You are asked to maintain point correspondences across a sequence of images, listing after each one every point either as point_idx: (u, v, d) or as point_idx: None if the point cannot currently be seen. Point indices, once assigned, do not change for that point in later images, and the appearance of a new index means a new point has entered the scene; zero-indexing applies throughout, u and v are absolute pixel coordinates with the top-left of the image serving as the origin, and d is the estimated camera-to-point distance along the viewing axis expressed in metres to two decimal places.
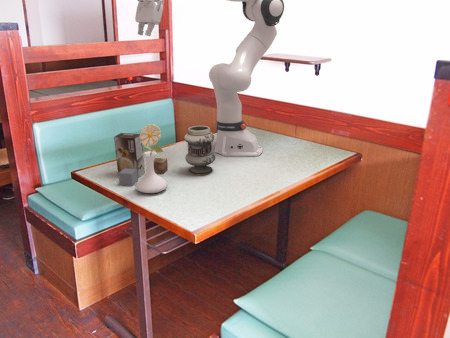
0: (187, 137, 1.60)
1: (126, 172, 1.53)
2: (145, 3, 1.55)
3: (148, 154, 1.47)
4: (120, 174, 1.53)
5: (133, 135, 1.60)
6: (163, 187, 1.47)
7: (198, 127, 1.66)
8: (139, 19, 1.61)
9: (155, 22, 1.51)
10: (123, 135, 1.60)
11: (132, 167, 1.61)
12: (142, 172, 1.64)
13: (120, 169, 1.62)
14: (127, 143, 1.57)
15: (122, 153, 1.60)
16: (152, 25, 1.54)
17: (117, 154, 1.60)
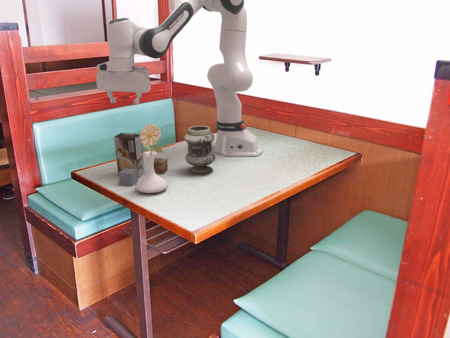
0: (187, 137, 1.60)
1: (126, 172, 1.53)
2: (123, 74, 1.49)
3: (148, 154, 1.47)
4: (120, 174, 1.53)
5: (133, 135, 1.60)
6: (163, 187, 1.47)
7: (198, 127, 1.66)
8: (111, 89, 1.53)
9: (148, 91, 1.52)
10: (123, 135, 1.60)
11: (132, 167, 1.61)
12: (142, 172, 1.64)
13: (120, 169, 1.62)
14: (127, 143, 1.57)
15: (122, 153, 1.60)
16: (140, 93, 1.53)
17: (117, 154, 1.60)
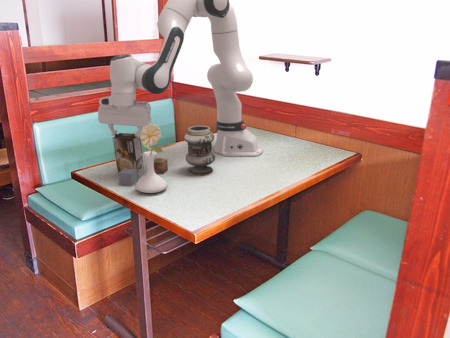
0: (187, 137, 1.60)
1: (125, 172, 1.53)
2: (125, 108, 1.53)
3: (148, 154, 1.47)
4: (120, 174, 1.53)
5: (131, 135, 1.59)
6: (163, 187, 1.47)
7: (198, 127, 1.66)
8: (112, 122, 1.56)
9: None
10: (122, 136, 1.59)
11: (132, 167, 1.60)
12: (142, 172, 1.64)
13: (120, 169, 1.62)
14: (126, 144, 1.57)
15: (121, 154, 1.59)
16: (141, 127, 1.57)
17: (116, 155, 1.60)
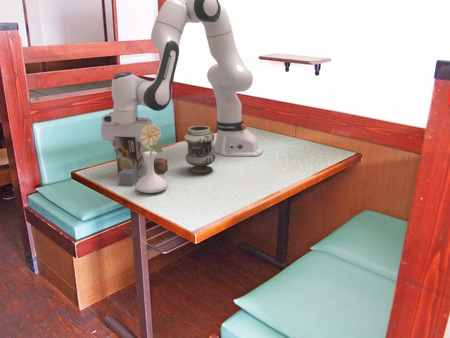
0: (187, 137, 1.60)
1: (126, 172, 1.53)
2: (127, 125, 1.55)
3: (148, 154, 1.47)
4: (120, 174, 1.53)
5: None
6: (163, 187, 1.47)
7: (198, 127, 1.66)
8: None
9: None
10: None
11: (132, 167, 1.61)
12: (142, 172, 1.65)
13: (120, 169, 1.62)
14: (127, 143, 1.58)
15: (122, 153, 1.60)
16: None
17: (117, 154, 1.60)
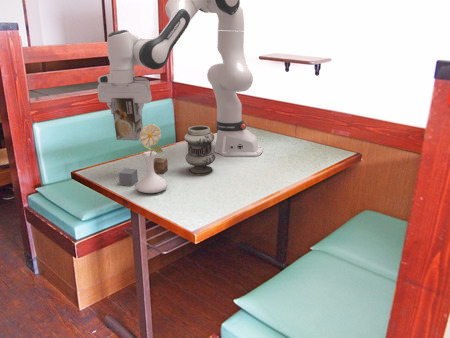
0: (187, 137, 1.60)
1: (126, 172, 1.53)
2: (124, 86, 1.50)
3: (148, 154, 1.47)
4: (120, 174, 1.53)
5: None
6: (163, 187, 1.47)
7: (198, 127, 1.66)
8: None
9: (149, 101, 1.53)
10: None
11: (130, 130, 1.56)
12: None
13: (118, 132, 1.58)
14: (125, 104, 1.53)
15: (120, 116, 1.55)
16: (143, 104, 1.55)
17: (115, 116, 1.56)
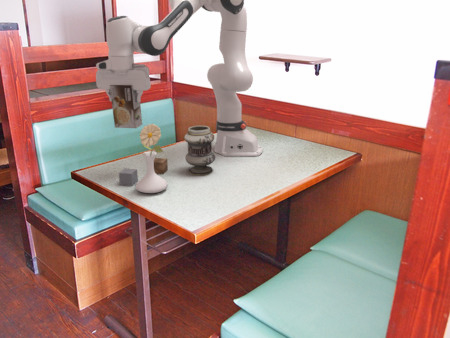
0: (187, 137, 1.60)
1: (126, 172, 1.53)
2: (123, 72, 1.49)
3: (148, 154, 1.47)
4: (120, 174, 1.53)
5: None
6: (163, 187, 1.47)
7: (198, 127, 1.66)
8: None
9: (148, 88, 1.52)
10: None
11: (129, 117, 1.54)
12: (139, 123, 1.58)
13: (117, 120, 1.56)
14: (123, 91, 1.51)
15: (118, 103, 1.53)
16: (142, 91, 1.53)
17: (113, 104, 1.54)
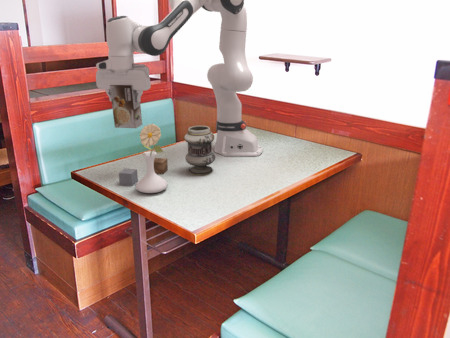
0: (187, 137, 1.60)
1: (125, 172, 1.53)
2: (123, 72, 1.49)
3: (148, 154, 1.47)
4: (120, 174, 1.53)
5: None
6: (163, 187, 1.47)
7: (198, 127, 1.66)
8: None
9: (148, 88, 1.52)
10: None
11: (129, 117, 1.54)
12: (139, 123, 1.58)
13: (117, 120, 1.56)
14: (123, 91, 1.51)
15: (118, 103, 1.53)
16: (142, 91, 1.53)
17: (113, 104, 1.54)
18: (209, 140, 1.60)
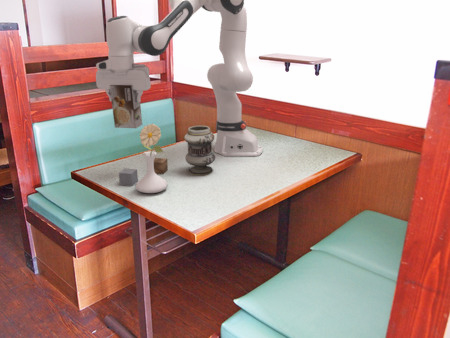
0: (187, 137, 1.60)
1: (126, 172, 1.53)
2: (123, 72, 1.49)
3: (148, 154, 1.47)
4: (120, 174, 1.53)
5: None
6: (163, 187, 1.47)
7: (198, 127, 1.66)
8: None
9: (148, 88, 1.52)
10: None
11: (129, 117, 1.54)
12: (139, 123, 1.58)
13: (117, 120, 1.56)
14: (123, 91, 1.51)
15: (118, 103, 1.53)
16: (142, 91, 1.53)
17: (113, 104, 1.54)
18: (209, 140, 1.60)
